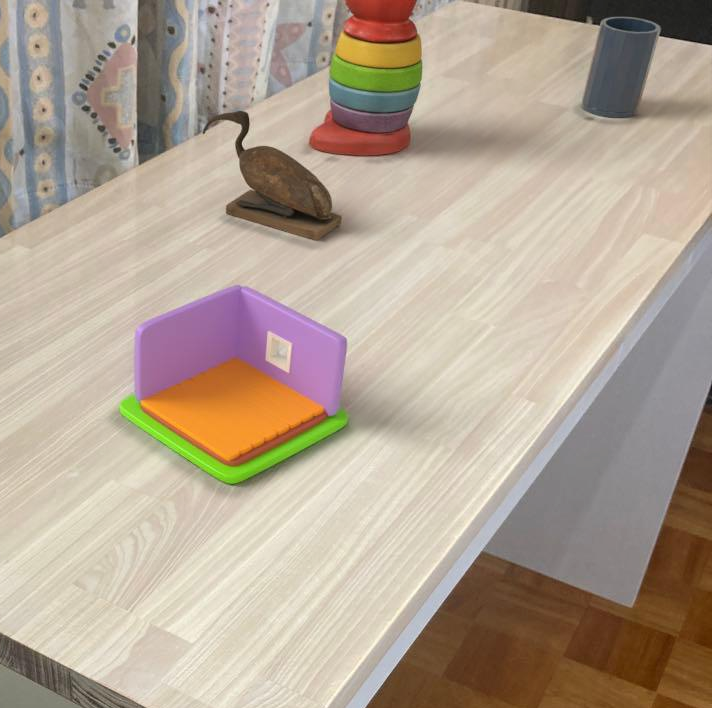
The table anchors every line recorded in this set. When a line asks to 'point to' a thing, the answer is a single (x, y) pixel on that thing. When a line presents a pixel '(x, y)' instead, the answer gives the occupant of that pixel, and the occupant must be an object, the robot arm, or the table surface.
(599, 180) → the table surface
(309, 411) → the miniature room corner
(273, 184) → the figurine
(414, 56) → the stacking bear
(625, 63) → the cup
